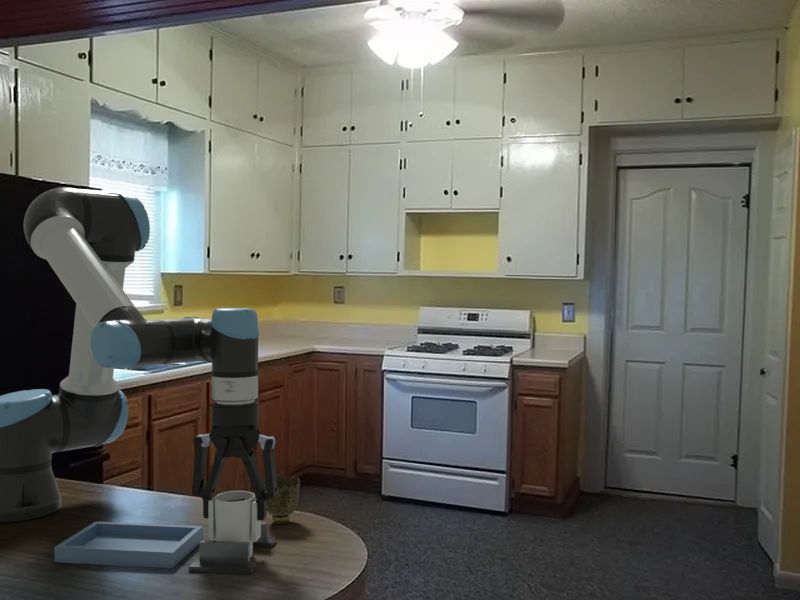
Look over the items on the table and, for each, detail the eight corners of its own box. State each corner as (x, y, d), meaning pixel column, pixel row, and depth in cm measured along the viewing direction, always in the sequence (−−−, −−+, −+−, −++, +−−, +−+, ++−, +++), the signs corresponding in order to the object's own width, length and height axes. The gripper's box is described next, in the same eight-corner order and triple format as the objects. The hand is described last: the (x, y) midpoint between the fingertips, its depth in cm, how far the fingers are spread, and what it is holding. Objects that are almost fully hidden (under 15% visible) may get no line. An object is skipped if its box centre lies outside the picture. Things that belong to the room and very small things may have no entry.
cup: (254, 526, 140) (254, 483, 140) (271, 514, 147) (271, 474, 147) (290, 530, 138) (291, 487, 138) (306, 518, 145) (306, 477, 145)
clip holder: (221, 539, 133) (221, 516, 133) (276, 541, 132) (276, 519, 132) (188, 571, 118) (188, 546, 118) (250, 574, 117) (250, 549, 117)
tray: (95, 535, 134) (95, 521, 134) (202, 540, 132) (202, 526, 132) (54, 562, 121) (54, 547, 121) (172, 568, 119) (172, 552, 119)
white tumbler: (232, 546, 129) (232, 488, 129) (263, 552, 126) (263, 494, 126) (205, 558, 124) (205, 498, 123) (237, 566, 120) (237, 504, 120)
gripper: (169, 403, 122) (169, 543, 122) (286, 406, 120) (286, 548, 120) (187, 396, 129) (187, 528, 130) (298, 398, 127) (297, 533, 128)
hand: (234, 537), depth 125 cm, fingers closed on white tumbler, 7 cm apart
